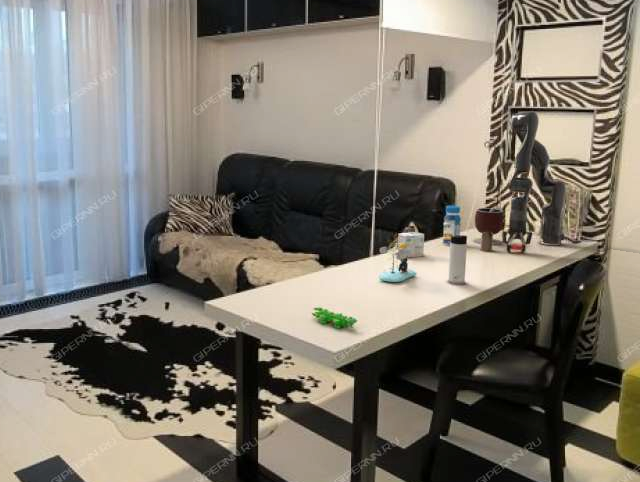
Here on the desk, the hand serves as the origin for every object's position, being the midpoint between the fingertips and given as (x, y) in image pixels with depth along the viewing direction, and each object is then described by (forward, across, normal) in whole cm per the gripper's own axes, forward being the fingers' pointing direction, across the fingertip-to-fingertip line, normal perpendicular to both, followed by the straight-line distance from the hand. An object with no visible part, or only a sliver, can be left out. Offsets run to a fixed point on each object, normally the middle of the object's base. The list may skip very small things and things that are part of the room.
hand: (515, 252), depth 296 cm
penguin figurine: (+1, +64, +50) cm, 81 cm away
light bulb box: (+1, +52, +10) cm, 53 cm away
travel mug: (+1, +40, +55) cm, 68 cm away
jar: (0, +13, -4) cm, 13 cm away
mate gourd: (0, +7, -22) cm, 23 cm away
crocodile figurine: (+1, +92, +107) cm, 141 cm away
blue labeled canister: (+1, +27, -16) cm, 31 cm away
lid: (-3, 0, 0) cm, 3 cm away
